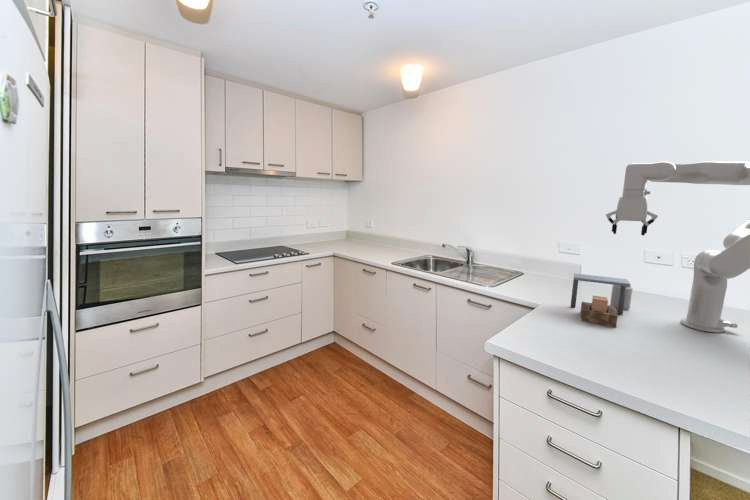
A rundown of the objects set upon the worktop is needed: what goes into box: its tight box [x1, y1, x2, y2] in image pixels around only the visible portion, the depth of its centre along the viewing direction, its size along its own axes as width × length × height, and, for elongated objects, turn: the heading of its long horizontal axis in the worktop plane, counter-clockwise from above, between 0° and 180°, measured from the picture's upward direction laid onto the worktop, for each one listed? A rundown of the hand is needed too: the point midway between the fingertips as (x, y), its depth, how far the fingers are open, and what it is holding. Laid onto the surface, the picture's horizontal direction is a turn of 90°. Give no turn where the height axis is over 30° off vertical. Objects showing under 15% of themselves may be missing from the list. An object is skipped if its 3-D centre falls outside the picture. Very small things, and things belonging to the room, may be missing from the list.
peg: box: [591, 295, 609, 313], centre depth 137 cm, size 5×5×10 cm
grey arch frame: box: [569, 272, 631, 316], centre depth 145 cm, size 20×9×16 cm, turn 59°
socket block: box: [580, 301, 619, 328], centre depth 139 cm, size 12×13×5 cm
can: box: [609, 283, 634, 311], centre depth 153 cm, size 8×8×12 cm
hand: (628, 234), depth 138 cm, fingers open, 9 cm apart
